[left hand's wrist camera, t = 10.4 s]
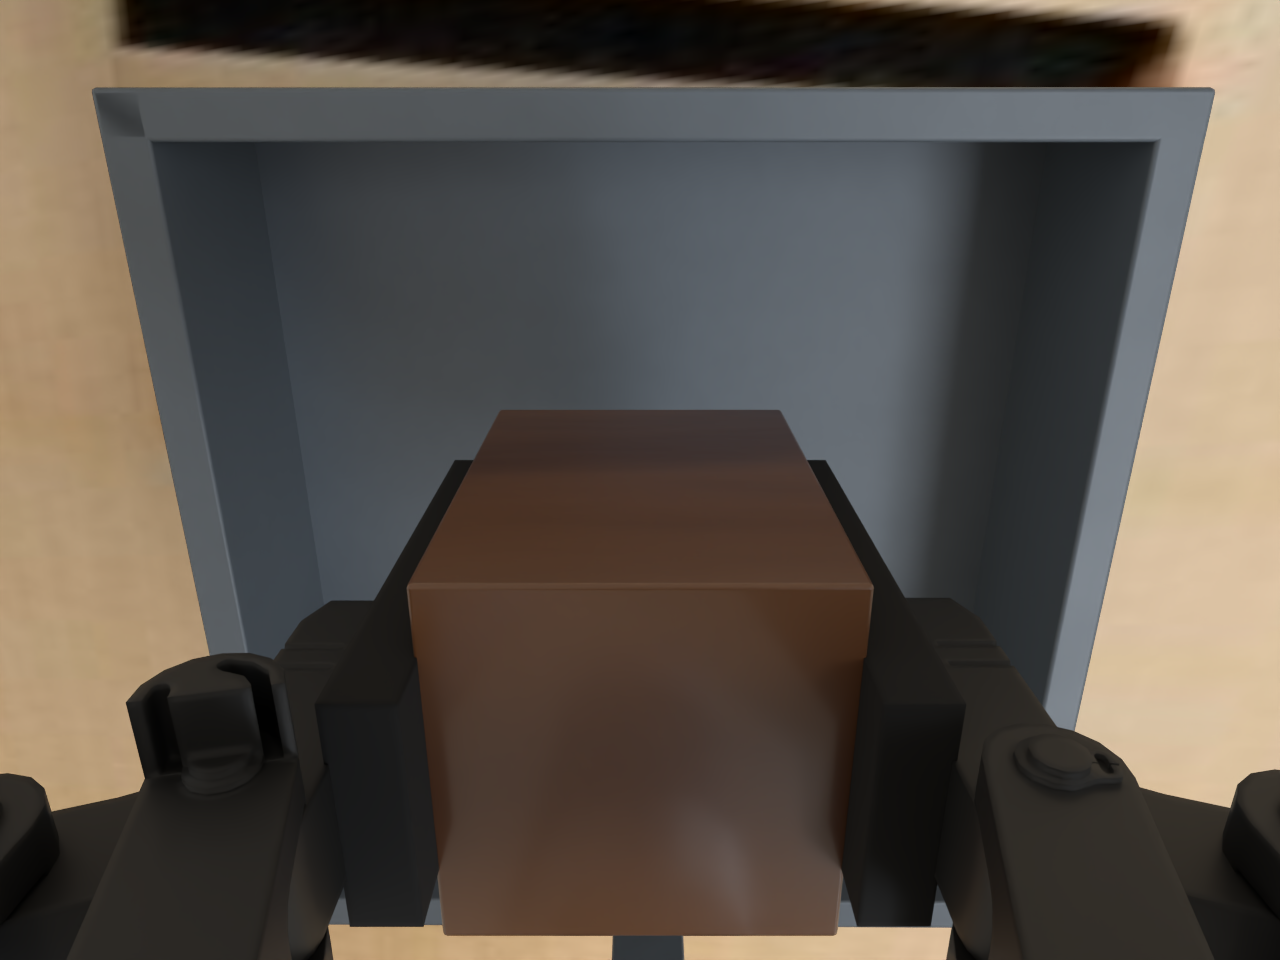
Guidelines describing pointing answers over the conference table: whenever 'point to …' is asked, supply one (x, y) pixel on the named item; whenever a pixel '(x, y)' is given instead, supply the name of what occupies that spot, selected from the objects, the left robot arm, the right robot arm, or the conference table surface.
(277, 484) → the tray
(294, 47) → the conference table surface
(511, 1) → the conference table surface
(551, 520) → the block
